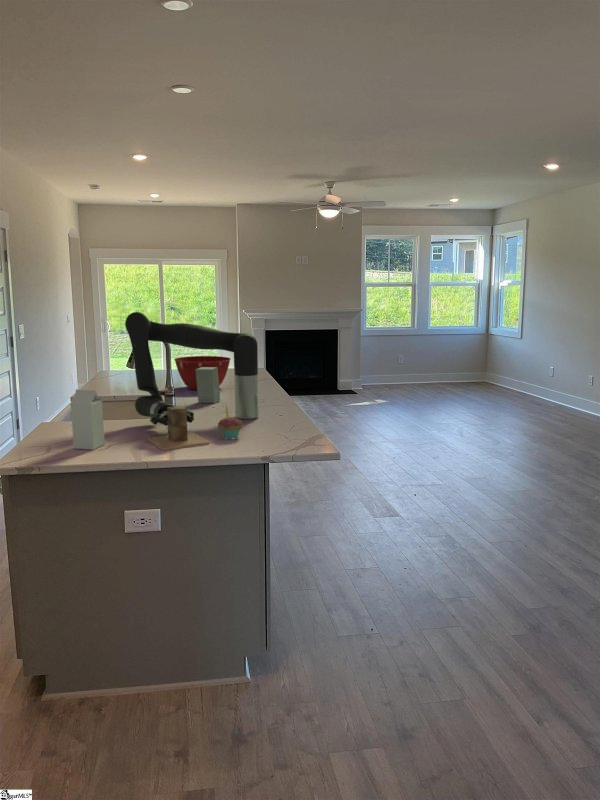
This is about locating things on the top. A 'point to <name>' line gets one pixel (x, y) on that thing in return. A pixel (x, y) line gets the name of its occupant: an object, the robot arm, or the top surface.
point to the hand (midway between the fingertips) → (178, 421)
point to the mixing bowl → (192, 363)
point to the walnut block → (177, 423)
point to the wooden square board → (167, 444)
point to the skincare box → (208, 385)
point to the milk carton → (87, 420)
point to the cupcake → (230, 426)
